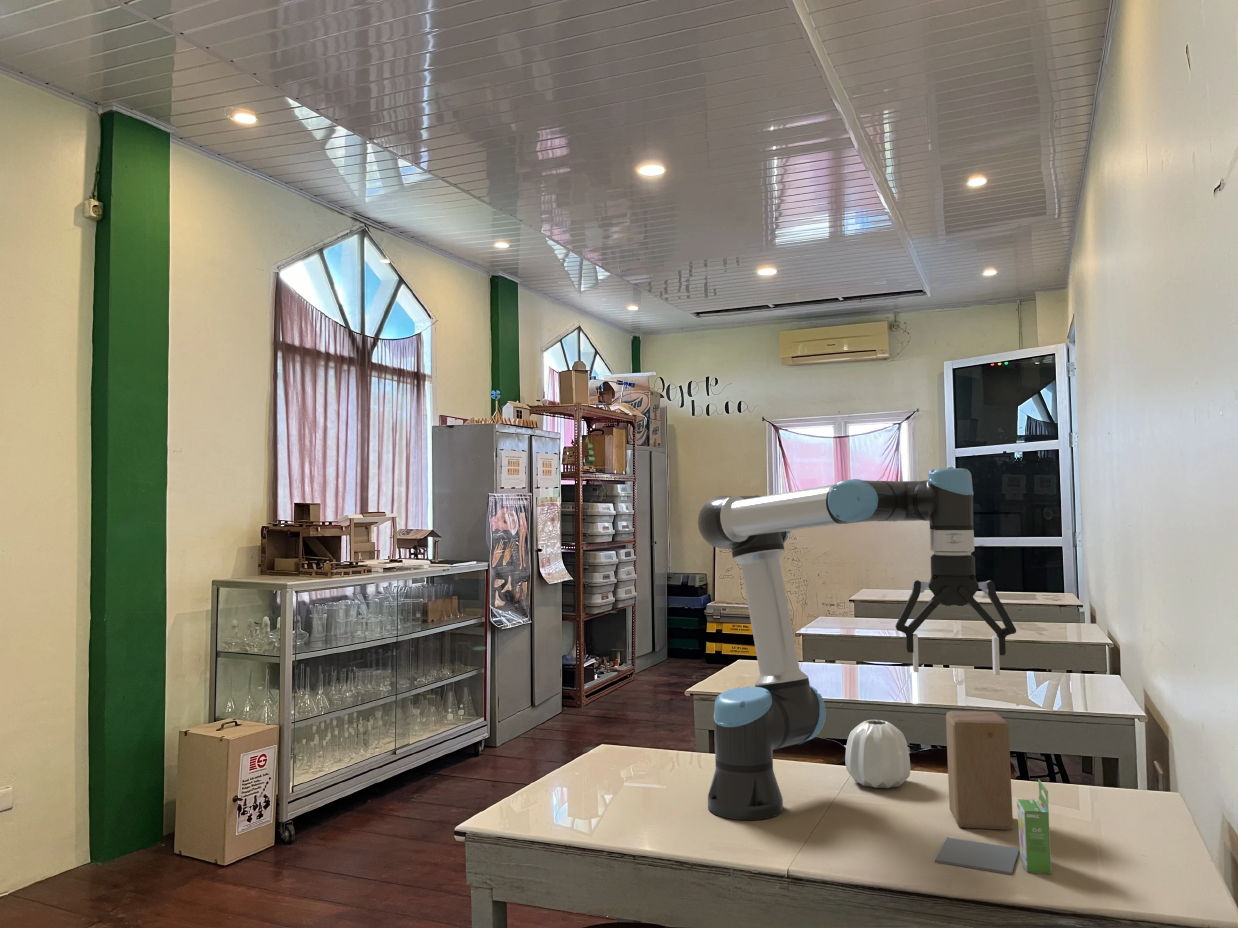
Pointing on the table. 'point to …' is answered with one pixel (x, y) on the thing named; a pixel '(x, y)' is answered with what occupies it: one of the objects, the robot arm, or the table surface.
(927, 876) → the table surface
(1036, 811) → the ink box
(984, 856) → the mat
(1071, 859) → the table surface
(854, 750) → the vase
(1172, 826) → the table surface
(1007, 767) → the wooden block
